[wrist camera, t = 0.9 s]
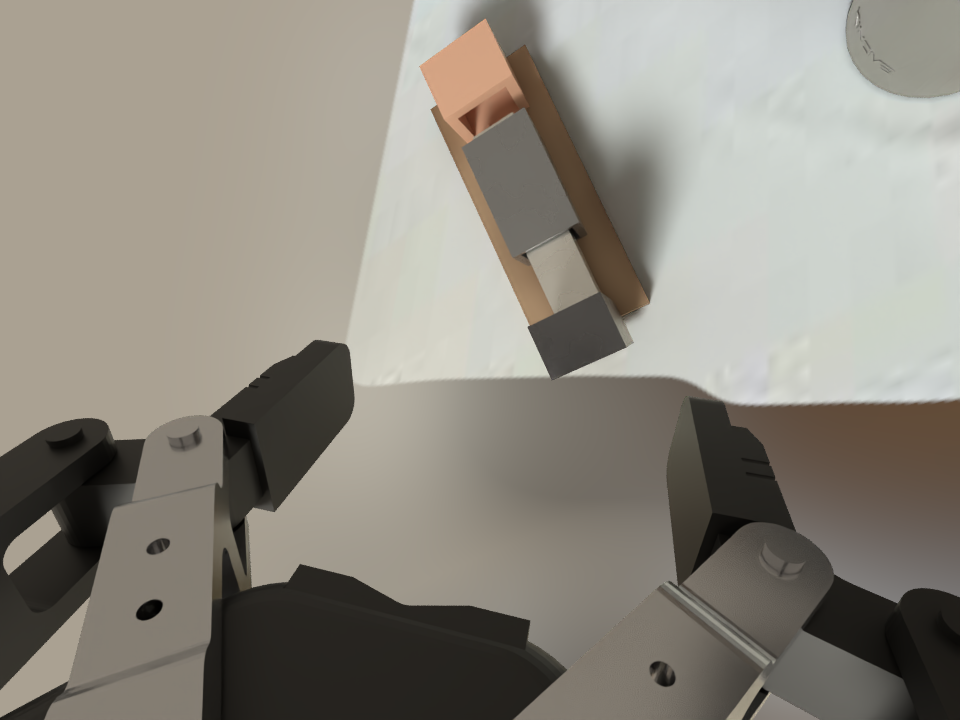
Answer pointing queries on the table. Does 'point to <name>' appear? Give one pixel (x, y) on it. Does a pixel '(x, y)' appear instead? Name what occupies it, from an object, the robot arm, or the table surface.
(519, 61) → the guide board
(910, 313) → the table surface
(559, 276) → the brushed grey metal block
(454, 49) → the socket
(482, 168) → the outer sleeve
